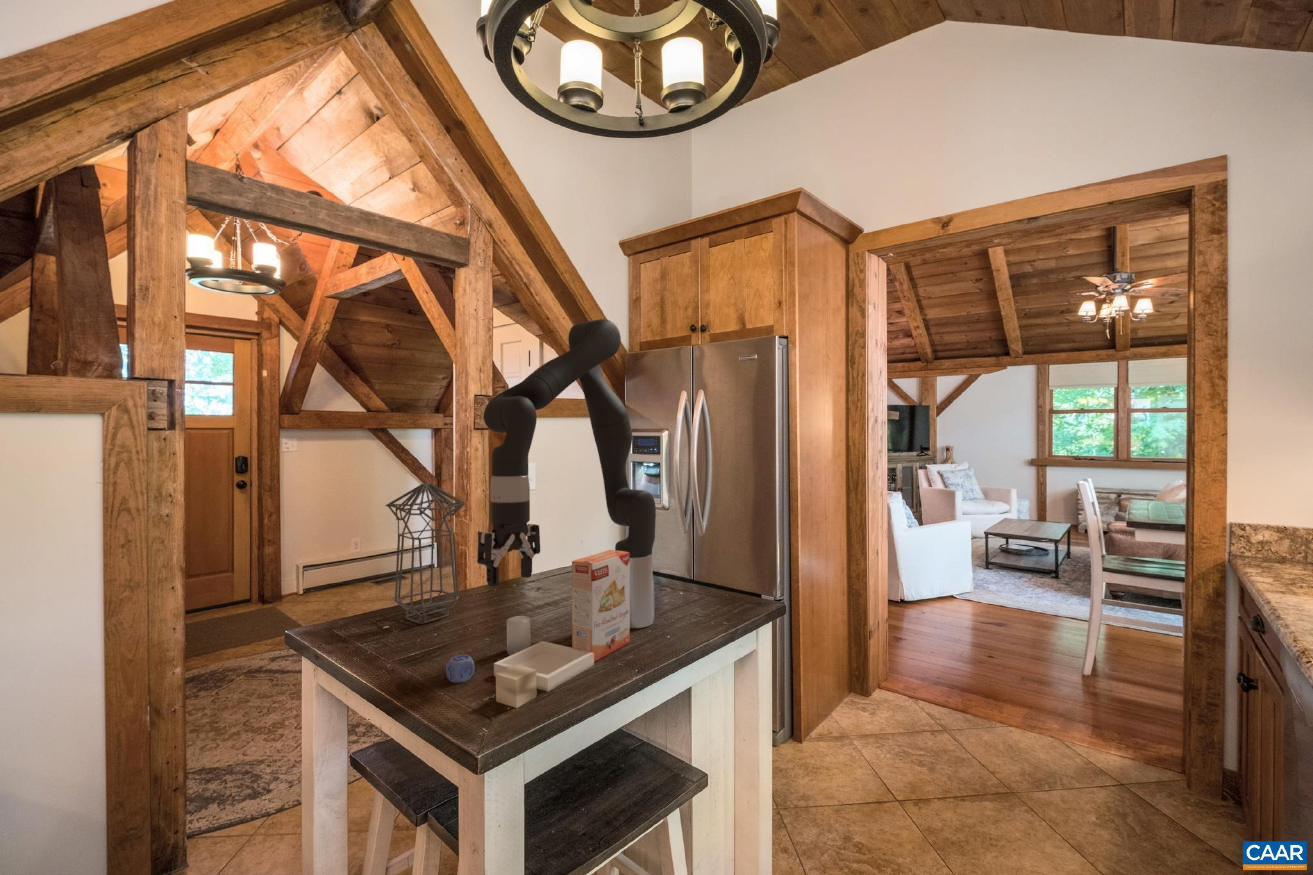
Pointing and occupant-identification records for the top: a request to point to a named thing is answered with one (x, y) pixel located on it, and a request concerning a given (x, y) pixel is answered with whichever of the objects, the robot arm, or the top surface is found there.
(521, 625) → the grey rounded cylinder
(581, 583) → the cracker box
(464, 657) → the decorative dice
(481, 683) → the top surface
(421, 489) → the geometric lantern
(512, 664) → the tray
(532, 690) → the wooden block
